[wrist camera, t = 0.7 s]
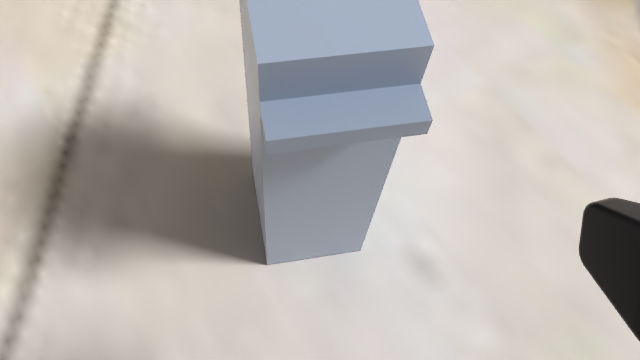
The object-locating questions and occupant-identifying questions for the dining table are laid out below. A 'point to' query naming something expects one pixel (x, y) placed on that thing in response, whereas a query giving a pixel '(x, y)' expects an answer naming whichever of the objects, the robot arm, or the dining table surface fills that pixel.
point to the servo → (329, 114)
